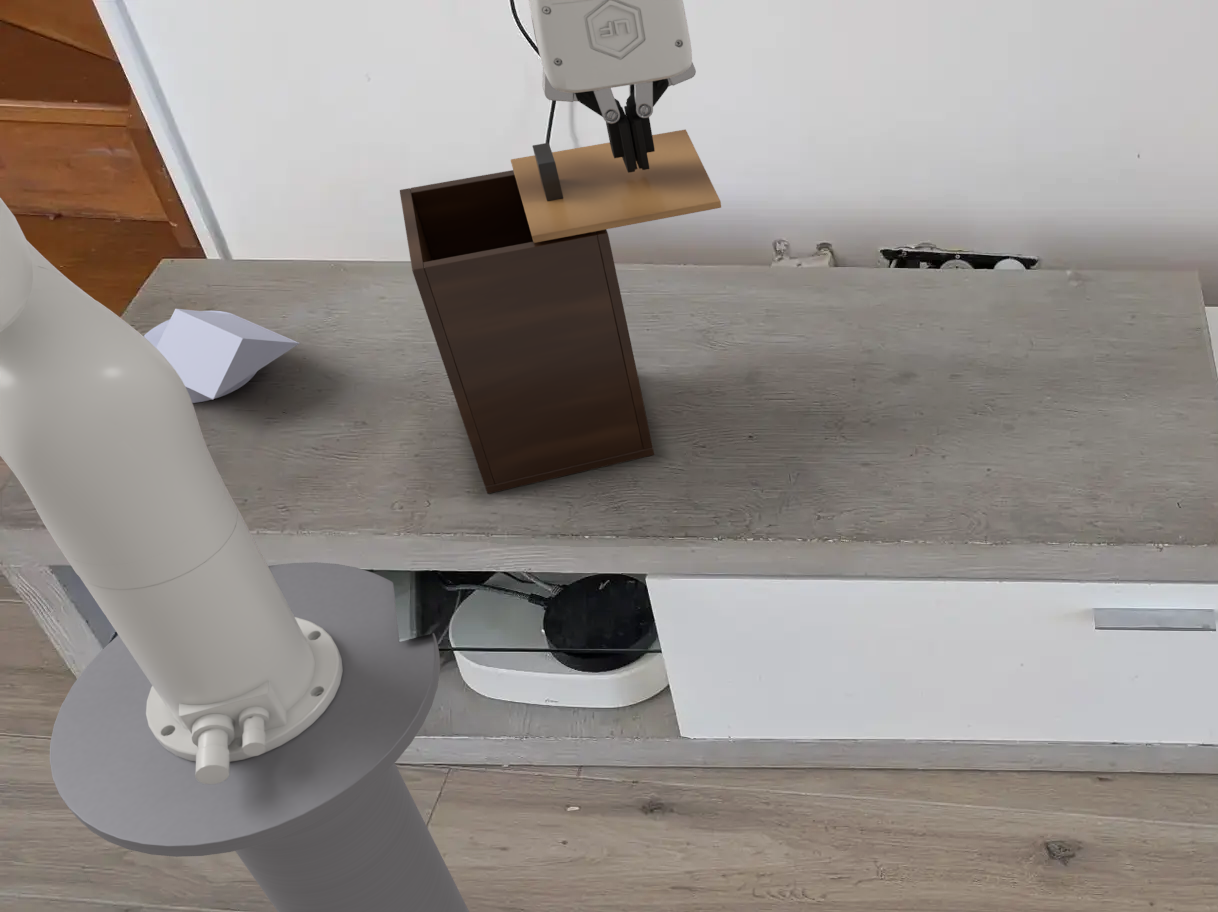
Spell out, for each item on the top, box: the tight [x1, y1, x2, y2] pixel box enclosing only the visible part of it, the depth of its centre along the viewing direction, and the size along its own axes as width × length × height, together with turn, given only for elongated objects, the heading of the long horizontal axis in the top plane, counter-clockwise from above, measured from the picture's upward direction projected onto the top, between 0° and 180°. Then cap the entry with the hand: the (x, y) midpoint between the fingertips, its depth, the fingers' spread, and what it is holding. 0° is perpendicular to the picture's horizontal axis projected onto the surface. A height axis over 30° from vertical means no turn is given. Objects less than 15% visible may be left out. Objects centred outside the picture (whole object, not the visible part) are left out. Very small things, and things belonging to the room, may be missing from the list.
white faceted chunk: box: [143, 308, 300, 404], centre depth 115 cm, size 9×7×13 cm
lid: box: [510, 129, 722, 243], centre depth 98 cm, size 12×14×4 cm
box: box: [399, 169, 655, 494], centre depth 105 cm, size 12×14×21 cm
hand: (635, 162), depth 99 cm, fingers closed
